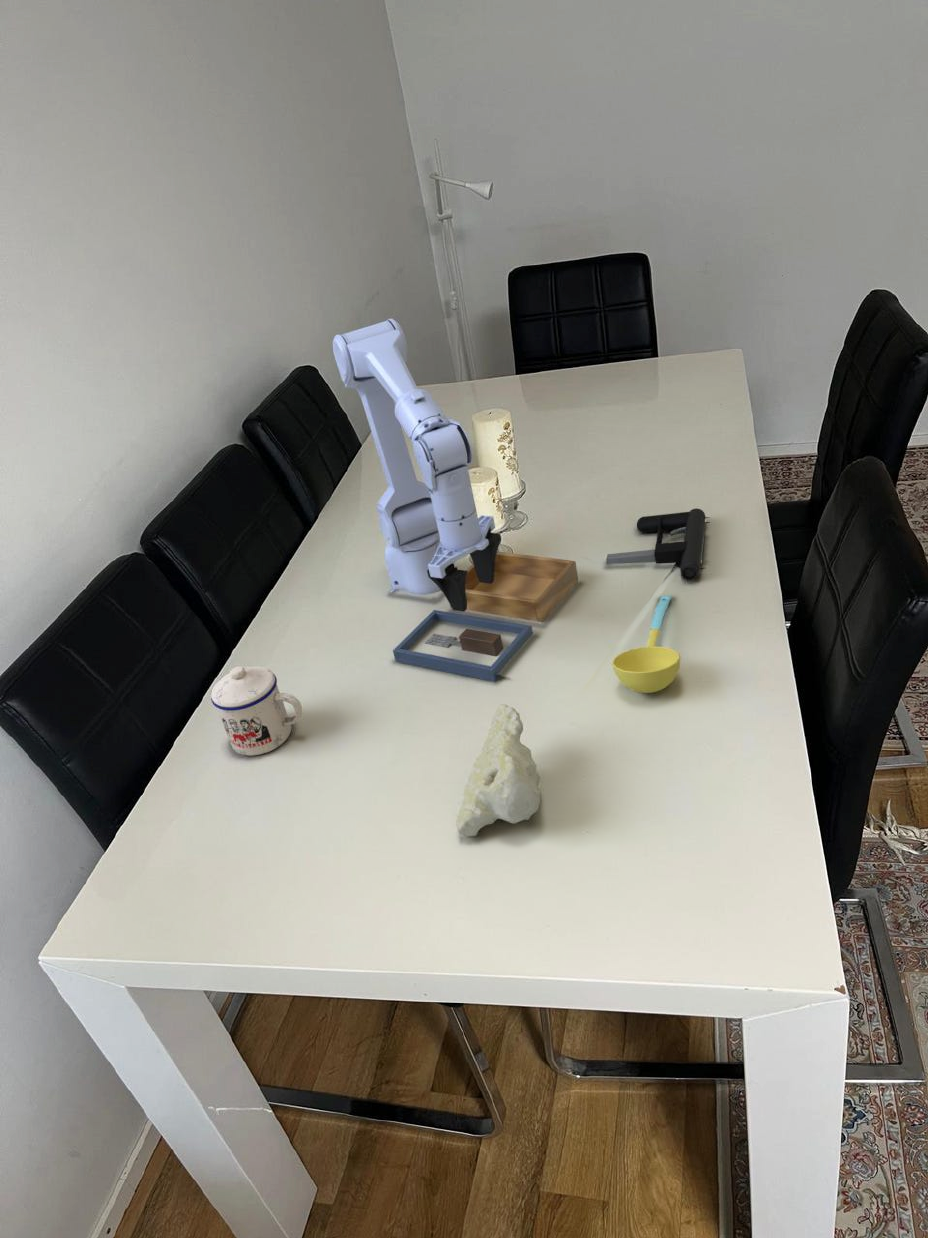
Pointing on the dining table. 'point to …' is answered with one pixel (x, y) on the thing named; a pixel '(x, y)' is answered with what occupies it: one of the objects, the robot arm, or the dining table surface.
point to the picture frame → (460, 666)
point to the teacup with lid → (254, 709)
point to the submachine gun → (676, 552)
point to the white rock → (500, 778)
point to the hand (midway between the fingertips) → (473, 595)
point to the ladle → (649, 660)
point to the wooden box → (521, 586)
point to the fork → (471, 642)
